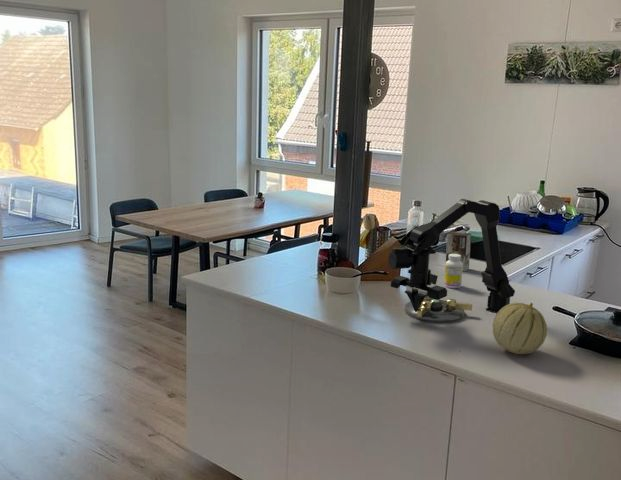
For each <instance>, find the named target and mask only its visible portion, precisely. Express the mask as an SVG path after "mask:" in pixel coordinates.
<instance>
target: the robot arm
mask: <svg viewBox="0 0 621 480" xmlns="http://www.w3.org/2000/svg"><path fill="white" fill-rule="evenodd" d="M469 213H471V214H473V215H474V218H475V221H476V222H477V223H478V225H479V226H480V229H481V234H482V236H481V237H482V242H483V249H484V256H485V262H486V267H485V269H484V270H483V271H481V272H480V275H481V279H482V280H481V282H482V283H483V284H484V286H485V287H486V290H487V291H488V292H489V295H487V303H486V304H487V305H486V306H487V307H486V309H485V310H486V311H489V312H492V313H496V314H497V313H498V312H499V310H500V309H502V308H503V307H504V306H506V305H508V304H511V303H510V301H511V298H512V297H514V295H515V293H516V290H515V289H514V287H513V286H512V285H511V284H510V280H509V277H508V275H507V274H508V273H506V271H505V269H504V267H503V265H502V260H501V252H500V244H499V236H498V229H497V225H498V223H499V222H500V206H499V205H498V204H497V203H495V202H492V201H488V200H487V201H486V200H481V199H480V200H478V201H472V200H469V199H466V198H460V199H458V201H457V202H456V203H454V204H453V205H451V207H449V208H448V209H447V210H445V211H444V212H443V213H441V214H440V215H438V216H437V217H435V218H434V219H433V220H431V221H430V222H427V223H423V224H421V225H419V226H416V227H415V228H413V229H412V230H411V232H410V235H409V237H408V238H407V239H406V241H405V242H404V243H403V245H402V247H392V248H391V252H389V254H388V258H387V261H388V266H389V268H390V269H391V270H401V269H403V270H404V269H408V270H407V273H408V274H409V277H407V276H403V275H398V276H395V277H393V278H392V279H391V280H390V288H395V289H399V288H400V287H401V286H402V287H405V290H404V293H405V294H406V295H407V297H408V299H409V302H410V301H411V303H412V306H413V308H414V311H415V312H417V311H418V310H419V308H420V306H421V304H422V302H423V300H424V298H425V297H426V296H428V297H429V298H432V299H435V300H442V299H444V298H446V297H447V296H448V289H447V287H443V286H439V285H436V284H437V281H438V277H439V276H438V275H436V274H434V273H432V271H431V269H430V268H429V266H430V255H434V254H437V252H436V250H434V248H433V247H432V245H434V244H435V243H436V241H437V240H438V239H439V237H440V235H441V234H442V233H443V232H444V231H445V230H447V229H448V228H449V227H451V226H453V224H455V223H456V222H458V221H459V220H460V219H462V218H463V217H464V216H465V215H467V214H469ZM414 245H415V246H414ZM409 268H410V269H409ZM431 285H434V286H431Z"/></svg>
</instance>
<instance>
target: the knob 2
mask: <svg viewBox="0 0 621 480" xmlns="http://www.w3.org/2000/svg"><path fill="white" fill-rule="evenodd" d="M445 301H446V309H447V310H456V309H460V310H464V311H473V303H470V302H458V301H457V300H456V298H447V299H446V300H445Z"/></svg>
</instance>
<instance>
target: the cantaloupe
mask: <svg viewBox="0 0 621 480" xmlns="http://www.w3.org/2000/svg"><path fill="white" fill-rule="evenodd" d="M533 305H534V304H533V302H530V303H529V304H526V303H524V302H511V303H510V304H508V305H506V306H504V307H503V308H502V309H500V310H499V312H498V313H496V315H495V316H494V318H493V322H492V334H493V337H494V340H495V341H496V343H497V344H498V345H499V346H500V347H502V348H503V349H505V350H506V351H508V352H510V353H513V354H514V355H527V354H531V353H533V352H536V351H537V350H538V349H540V348H541V347H542V345H543V344H544V343H545V340H546V337H547V332H548V327H547V322H546V319H545V317H544V315H543V314H542V313H541V312H540V311H539V310H538V309H537V308H536V307H534V306H533Z"/></svg>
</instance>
